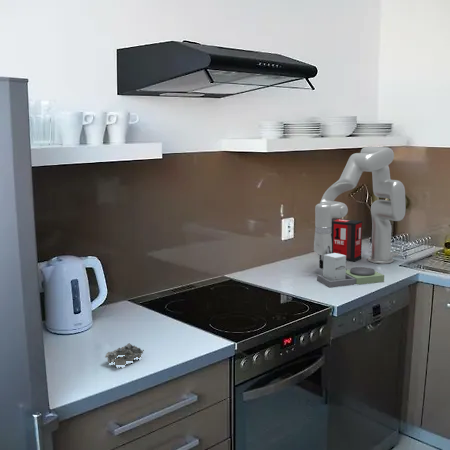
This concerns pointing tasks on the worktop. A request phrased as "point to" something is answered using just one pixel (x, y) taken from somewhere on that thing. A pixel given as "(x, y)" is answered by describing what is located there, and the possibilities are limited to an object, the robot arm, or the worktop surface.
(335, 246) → the cleaning product box
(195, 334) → the worktop surface
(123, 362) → the grey lumpy cluster
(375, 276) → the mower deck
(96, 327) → the worktop surface
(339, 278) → the supplement box
